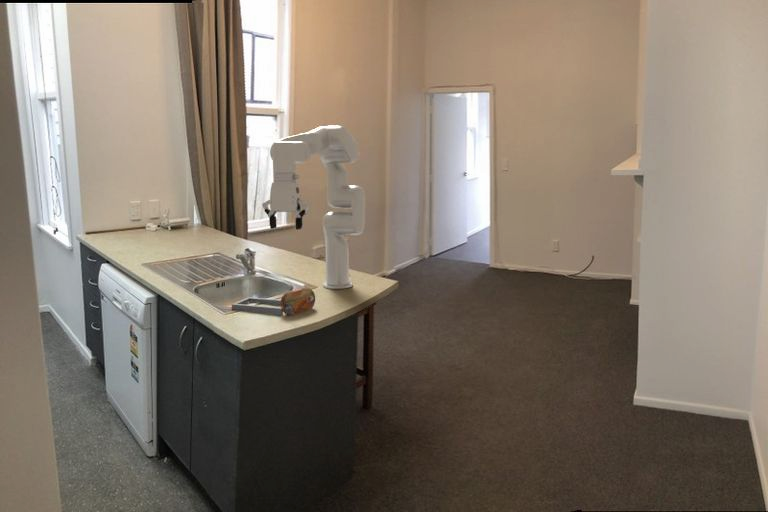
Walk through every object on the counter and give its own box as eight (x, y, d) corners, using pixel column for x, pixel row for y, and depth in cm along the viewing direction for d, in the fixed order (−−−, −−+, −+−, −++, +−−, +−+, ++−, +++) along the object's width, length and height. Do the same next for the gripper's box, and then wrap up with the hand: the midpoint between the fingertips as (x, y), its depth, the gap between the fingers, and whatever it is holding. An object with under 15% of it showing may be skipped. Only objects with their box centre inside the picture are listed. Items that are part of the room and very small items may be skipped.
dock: (248, 303, 225) (248, 297, 225) (295, 307, 219) (295, 301, 218) (232, 311, 214) (231, 304, 214) (281, 315, 208) (281, 308, 208)
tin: (285, 317, 206) (284, 294, 204) (279, 316, 208) (278, 292, 206) (316, 308, 217) (315, 286, 216) (310, 307, 219) (309, 285, 218)
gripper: (312, 178, 199) (313, 228, 202) (267, 178, 204) (269, 226, 207) (302, 178, 192) (304, 230, 195) (256, 178, 197) (258, 229, 200)
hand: (286, 228), depth 201 cm, fingers open, 9 cm apart
